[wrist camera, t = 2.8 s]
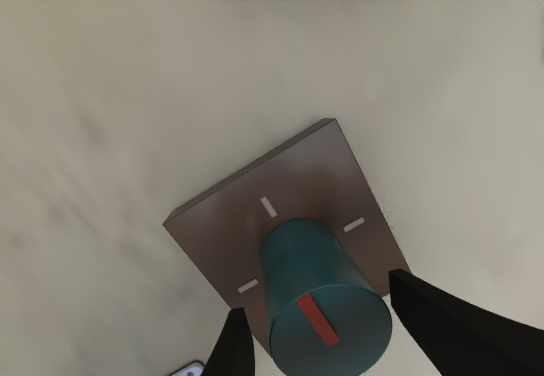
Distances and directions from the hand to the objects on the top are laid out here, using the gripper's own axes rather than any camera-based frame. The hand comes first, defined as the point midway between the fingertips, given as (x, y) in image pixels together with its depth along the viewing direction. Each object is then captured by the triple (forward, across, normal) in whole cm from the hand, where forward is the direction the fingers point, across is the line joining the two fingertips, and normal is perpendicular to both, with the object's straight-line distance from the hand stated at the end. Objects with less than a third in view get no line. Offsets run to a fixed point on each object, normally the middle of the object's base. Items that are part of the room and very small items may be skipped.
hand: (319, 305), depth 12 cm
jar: (+5, 0, 0) cm, 5 cm away
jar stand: (+7, 0, 0) cm, 7 cm away
